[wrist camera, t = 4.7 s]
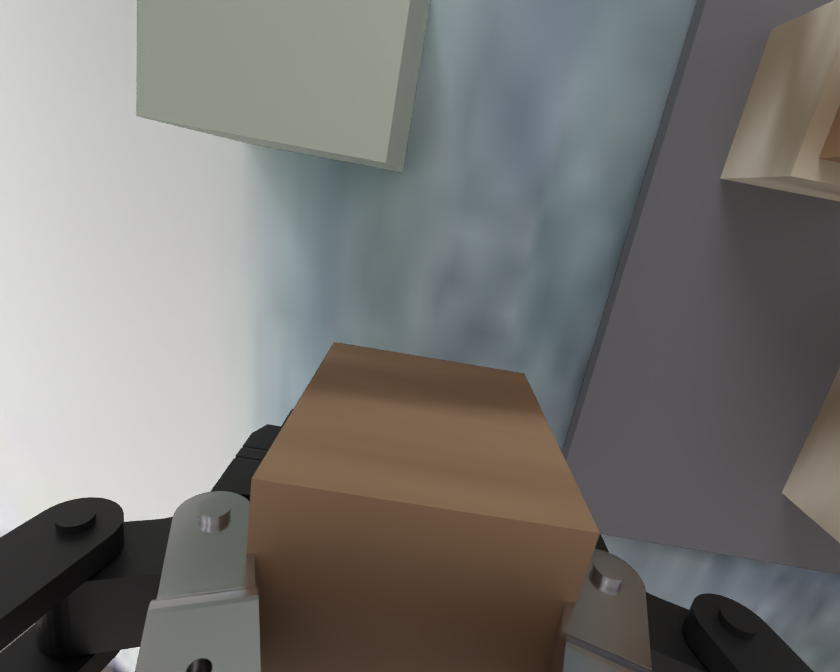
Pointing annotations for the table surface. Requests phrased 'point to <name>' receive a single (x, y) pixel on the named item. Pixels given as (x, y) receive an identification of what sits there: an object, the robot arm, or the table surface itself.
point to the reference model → (794, 111)
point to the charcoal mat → (713, 328)
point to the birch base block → (820, 467)
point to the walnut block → (415, 522)
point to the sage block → (286, 73)
